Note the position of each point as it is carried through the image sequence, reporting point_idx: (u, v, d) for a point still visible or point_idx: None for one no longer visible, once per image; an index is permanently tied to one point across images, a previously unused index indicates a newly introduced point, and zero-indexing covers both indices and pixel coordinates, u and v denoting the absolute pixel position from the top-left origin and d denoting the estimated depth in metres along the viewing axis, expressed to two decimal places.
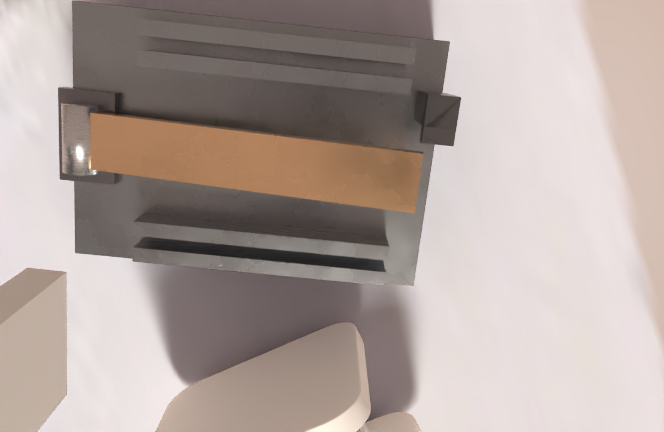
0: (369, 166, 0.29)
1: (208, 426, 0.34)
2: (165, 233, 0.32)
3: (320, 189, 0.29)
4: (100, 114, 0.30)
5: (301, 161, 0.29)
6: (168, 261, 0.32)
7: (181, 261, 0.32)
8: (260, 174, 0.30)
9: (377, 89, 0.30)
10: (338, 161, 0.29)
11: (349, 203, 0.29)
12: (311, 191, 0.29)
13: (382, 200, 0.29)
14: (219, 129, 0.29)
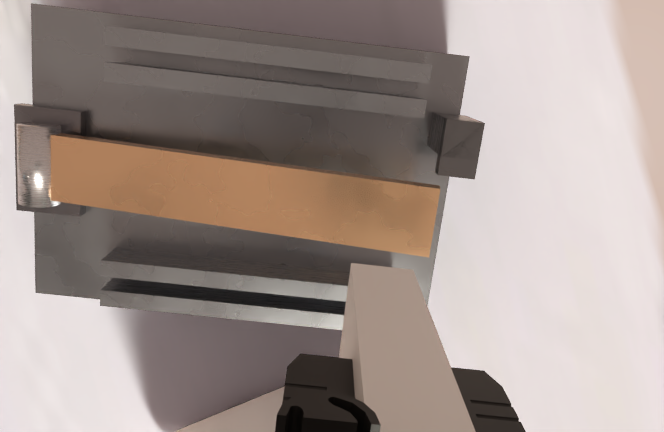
0: (376, 202, 0.25)
1: None
2: (138, 274, 0.27)
3: (319, 227, 0.25)
4: (62, 137, 0.26)
5: (297, 194, 0.25)
6: (142, 306, 0.28)
7: (157, 306, 0.28)
8: (249, 209, 0.25)
9: (386, 111, 0.26)
10: (340, 196, 0.25)
11: (352, 244, 0.25)
12: (308, 230, 0.25)
13: (391, 241, 0.25)
14: (201, 156, 0.25)
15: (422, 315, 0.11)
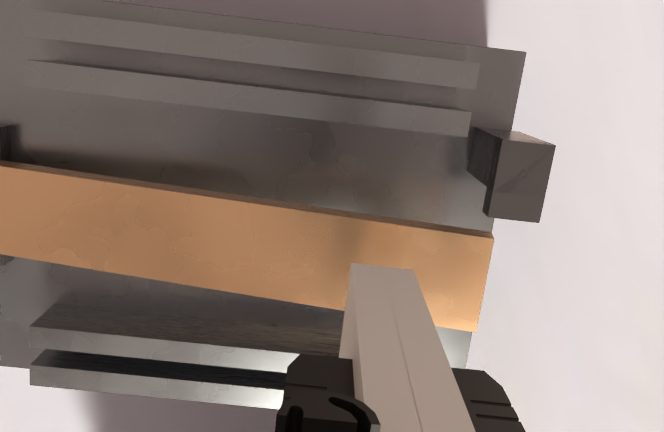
0: (403, 256, 0.17)
1: None
2: (79, 344, 0.20)
3: (322, 289, 0.18)
4: None
5: (292, 244, 0.18)
6: (85, 385, 0.21)
7: (106, 385, 0.21)
8: (225, 262, 0.18)
9: (415, 127, 0.19)
10: (352, 246, 0.18)
11: None
12: (307, 292, 0.18)
13: None
14: (158, 190, 0.18)
15: (422, 315, 0.11)
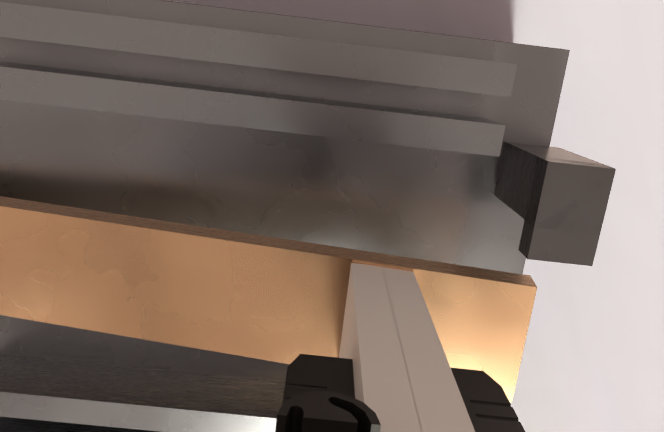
0: None
1: None
2: (20, 409, 0.17)
3: (318, 347, 0.14)
4: None
5: (281, 292, 0.14)
6: None
7: None
8: (197, 314, 0.15)
9: (434, 144, 0.15)
10: None
11: None
12: (300, 350, 0.15)
13: None
14: (112, 223, 0.14)
15: (421, 315, 0.11)
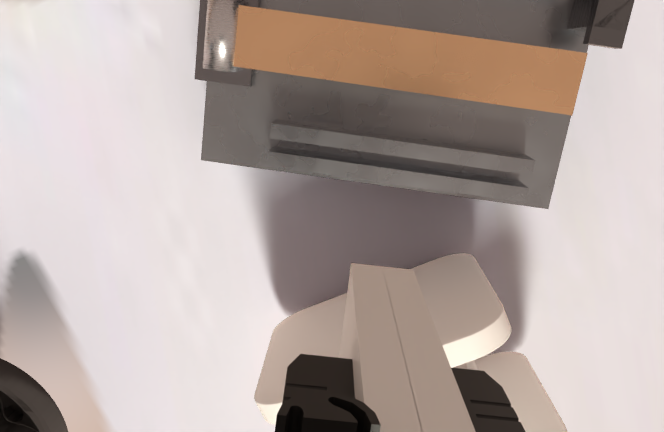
0: (530, 65, 0.28)
1: (330, 344, 0.33)
2: (303, 137, 0.31)
3: (476, 89, 0.29)
4: (249, 7, 0.29)
5: (460, 59, 0.29)
6: (303, 167, 0.31)
7: (317, 167, 0.31)
8: (415, 73, 0.29)
9: None
10: (498, 60, 0.29)
11: (505, 104, 0.29)
12: (467, 91, 0.29)
13: (540, 101, 0.29)
14: (375, 24, 0.29)
15: (422, 315, 0.11)
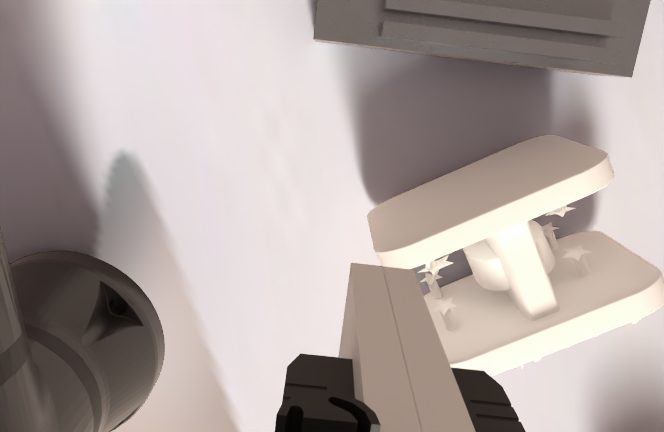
0: None
1: (438, 205, 0.36)
2: (416, 6, 0.33)
3: None
4: None
5: None
6: (416, 35, 0.34)
7: (428, 35, 0.34)
8: None
9: None
10: None
11: None
12: None
13: None
14: None
15: (422, 315, 0.11)
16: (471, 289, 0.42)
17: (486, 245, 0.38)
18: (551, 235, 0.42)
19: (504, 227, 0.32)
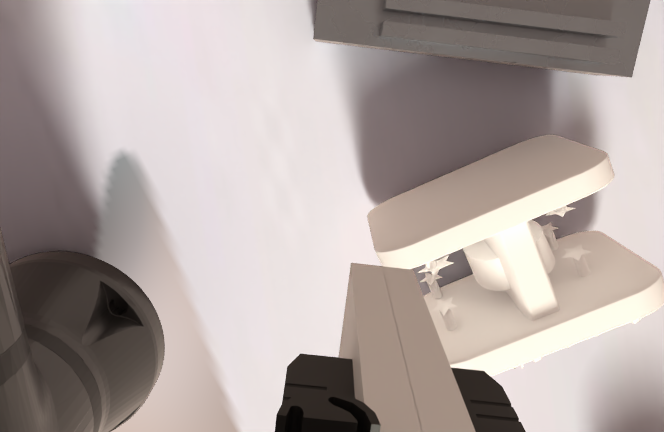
0: None
1: (439, 205, 0.36)
2: (416, 6, 0.33)
3: None
4: None
5: None
6: (415, 35, 0.34)
7: (428, 35, 0.34)
8: None
9: None
10: None
11: None
12: None
13: None
14: None
15: (422, 315, 0.11)
16: (471, 289, 0.42)
17: (486, 245, 0.38)
18: (551, 235, 0.42)
19: (504, 227, 0.32)
